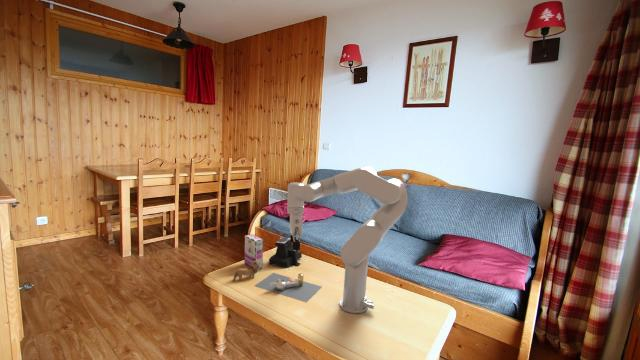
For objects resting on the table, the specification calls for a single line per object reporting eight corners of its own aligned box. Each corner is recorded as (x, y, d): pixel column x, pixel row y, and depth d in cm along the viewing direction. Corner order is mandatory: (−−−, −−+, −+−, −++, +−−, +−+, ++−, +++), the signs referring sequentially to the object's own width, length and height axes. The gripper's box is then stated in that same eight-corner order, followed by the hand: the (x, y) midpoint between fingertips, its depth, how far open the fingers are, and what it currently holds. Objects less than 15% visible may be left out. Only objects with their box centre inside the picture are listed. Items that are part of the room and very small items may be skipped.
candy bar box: (263, 268, 170) (263, 239, 167) (255, 271, 166) (255, 241, 164) (251, 261, 177) (252, 233, 175) (243, 263, 174) (244, 235, 171)
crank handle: (271, 293, 142) (271, 282, 141) (267, 286, 148) (267, 276, 147) (305, 287, 149) (305, 277, 148) (300, 281, 154) (301, 271, 153)
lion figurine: (256, 274, 162) (256, 258, 161) (261, 278, 158) (262, 261, 157) (229, 282, 153) (229, 264, 151) (234, 287, 149) (234, 269, 147)
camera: (283, 233, 188) (305, 235, 181) (284, 256, 190) (306, 259, 183) (267, 240, 174) (291, 243, 167) (269, 266, 176) (292, 269, 169)
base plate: (322, 289, 151) (322, 286, 151) (306, 304, 137) (306, 302, 136) (273, 274, 163) (273, 272, 163) (254, 288, 149) (254, 285, 148)
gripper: (306, 214, 135) (305, 252, 138) (301, 205, 152) (300, 239, 154) (289, 215, 134) (288, 253, 136) (285, 205, 150) (285, 239, 153)
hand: (295, 245), depth 145 cm, fingers open, 9 cm apart
